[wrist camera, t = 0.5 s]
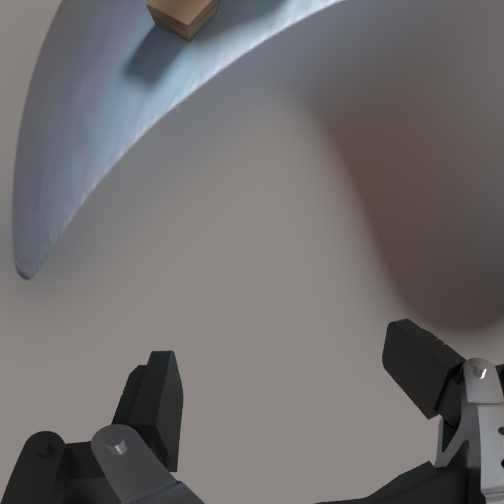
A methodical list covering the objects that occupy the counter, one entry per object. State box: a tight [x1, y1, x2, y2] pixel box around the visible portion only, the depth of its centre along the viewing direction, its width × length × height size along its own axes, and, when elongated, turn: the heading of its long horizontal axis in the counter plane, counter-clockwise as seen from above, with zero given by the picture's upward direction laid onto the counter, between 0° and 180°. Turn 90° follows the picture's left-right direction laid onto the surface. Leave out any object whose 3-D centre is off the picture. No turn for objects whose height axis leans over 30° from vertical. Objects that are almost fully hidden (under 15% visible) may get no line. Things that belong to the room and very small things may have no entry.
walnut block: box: [146, 0, 220, 42], centre depth 20 cm, size 5×5×7 cm
